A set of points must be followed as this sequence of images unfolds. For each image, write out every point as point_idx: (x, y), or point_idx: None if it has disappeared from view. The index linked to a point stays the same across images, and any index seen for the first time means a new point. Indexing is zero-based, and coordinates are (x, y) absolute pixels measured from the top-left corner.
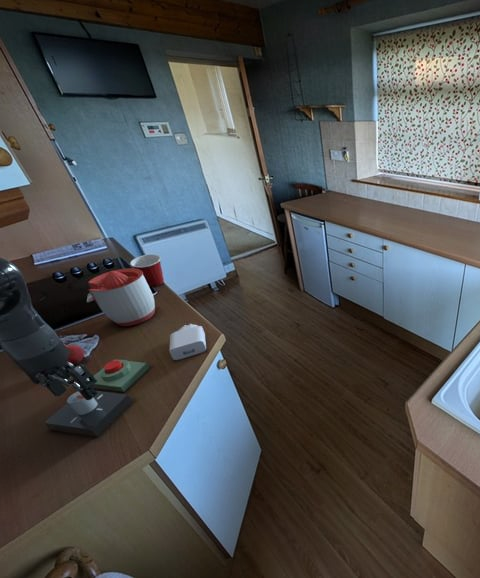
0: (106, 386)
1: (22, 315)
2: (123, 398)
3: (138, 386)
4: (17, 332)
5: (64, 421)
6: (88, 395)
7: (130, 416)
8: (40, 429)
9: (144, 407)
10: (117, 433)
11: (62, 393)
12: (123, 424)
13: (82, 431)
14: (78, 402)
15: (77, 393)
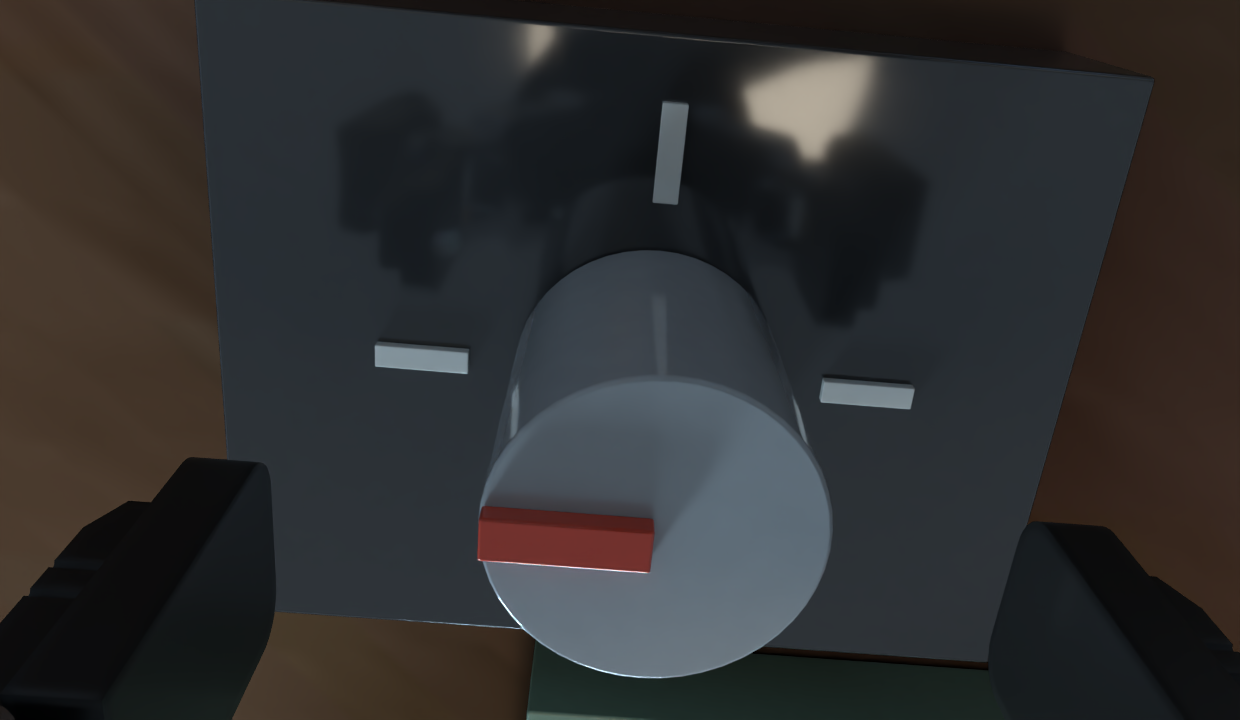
0: (768, 707)
1: None
2: None
3: (425, 714)
4: None
5: (808, 119)
6: (96, 563)
7: (107, 311)
8: (1237, 56)
9: (48, 446)
10: (27, 45)
11: (1007, 588)
12: (83, 189)
13: (457, 3)
14: (529, 411)
15: (727, 600)
